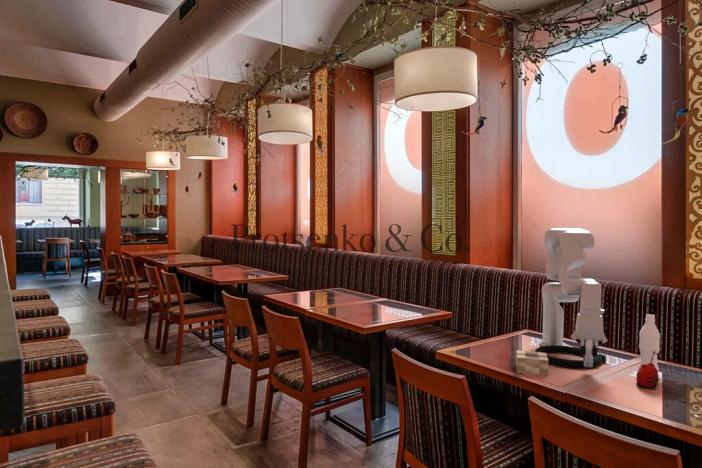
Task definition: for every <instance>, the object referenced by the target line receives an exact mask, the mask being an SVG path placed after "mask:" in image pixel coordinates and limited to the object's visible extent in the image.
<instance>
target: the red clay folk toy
mask: <svg viewBox="0 0 702 468" xmlns="http://www.w3.org/2000/svg"><path fill="white" fill-rule="evenodd" d="M655 351H656V350H655ZM655 351H654V352H653V356H654V354H656V355H657V356H659V352H658V353H655ZM651 352H652V351H651ZM653 356H652V358H651V362H650V363H649V364H642V365H641V367H640V368H639V369H637V373H636V375H635V376H636V382H635V383H636V386H638V387H641V388H643V389H649V390H650V389H651V390H653V389H656V388H657V387H658V385H659V384H658V383H659V373H658V371H657V369H656V368H655V365H654V364H652V360H653Z"/></svg>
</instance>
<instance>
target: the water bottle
mask: <svg viewBox="0 0 702 468" xmlns="http://www.w3.org/2000/svg"><path fill="white" fill-rule="evenodd" d="M644 321H645V322H644V325H643V326H642V327H641V329H640V330H639V342H638V343H639V344H638V348H639V352H640V361H639V364H638V366H637V367H638V369H637V370H639V368H640V367H641V365H642V364H649V363H650V362H651V358H652V356H653V352H654V351H655V350H656V351H655V353H658V354H659V352H660V343H661V341H660V339H661V334H660V332H659V329H658V327H657V325H656V315H655V314H649V313H646V314H645V319H644ZM651 351H652V352H651ZM652 364H654V365H655V368H656V369H657V371H658V374H659V373H660V370H659V369H660V368H659V365H658V355H656V354H654V356H653V360H652Z"/></svg>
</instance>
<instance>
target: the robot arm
mask: <svg viewBox="0 0 702 468" xmlns="http://www.w3.org/2000/svg"><path fill="white" fill-rule="evenodd" d="M543 238H544V239H543V240H544V246H545V247H546V249H545V250H546V263H545V264H546V265H545V266H546V269H545V275H546V278H547V279H548V280H551V281H559V282H551V281H550V282H547V283H544V284H543V285H542V287H541V295H542V340H539V342H538V345H540V346H541V347H543V346H550V345H557V346H567V344H566V342H564V315H565V313H564V308H563V307H562V306H561V305H560V303H575V302H578V301H579V300H580V303H579V304H580V305H579V312H578V313H577V315H576V319H575V320H576V321H575V329H574V332H573V333H572V334H571V335H570V338H571V340H573V341H575V342H576V343H577V344H578V345H579V348H580V353H581V355H582V356H581V357H583V356H584V350H585V347H584V340H585V339H590V340H594V349H593V357H596V355H597V354H598V348H599V347H600V346H601V345H603V344H606V343H607V342H608V338H607V337H606V335H605V333H604V319H603V315H602V314H605V309H602V304H601V303H602V284H601V283H600V282H597V281H596V280H595V279H593V278H586V277H585V278H583V277H582V269H581V266H582V265H584V264H585V262H586V260H587V257H586V254H585V251H584V250H588V251H589V250H592V249H593V248H594V246H595V241H596V240H595V237H594V235H593V233H591V231H589V230H586V229H583V228H568V227H567V228H566V227H563V228H562V227H556V228H555V227H554V228H549V229H547V230H546V231H545V232H544V236H543Z"/></svg>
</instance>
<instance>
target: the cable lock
mask: <svg viewBox="0 0 702 468" xmlns="http://www.w3.org/2000/svg"><path fill="white" fill-rule="evenodd" d="M533 352H541V353H546V354H547V358H548V365H551V366H555V367H561V368H567V369H593V368H596V367H598V366H599V365H601V364H604V362H605V363H606V362H607V356H606V354H602V353H597V355H596V357H593V367H586V366H583V359H566V358H559V357H555V356H550V355H548V354H552V353H556V354H558V353H559V354H561V353H562V354H569V355H573V356H574V355H575V356H579V357H583V356H582V355H581V353H580V347H577V346H569V345H566V346H557V345H550V346H539V347H537V348H535V350H534V351H533Z"/></svg>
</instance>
